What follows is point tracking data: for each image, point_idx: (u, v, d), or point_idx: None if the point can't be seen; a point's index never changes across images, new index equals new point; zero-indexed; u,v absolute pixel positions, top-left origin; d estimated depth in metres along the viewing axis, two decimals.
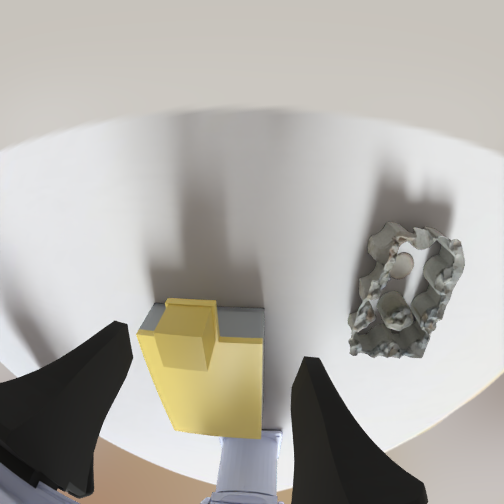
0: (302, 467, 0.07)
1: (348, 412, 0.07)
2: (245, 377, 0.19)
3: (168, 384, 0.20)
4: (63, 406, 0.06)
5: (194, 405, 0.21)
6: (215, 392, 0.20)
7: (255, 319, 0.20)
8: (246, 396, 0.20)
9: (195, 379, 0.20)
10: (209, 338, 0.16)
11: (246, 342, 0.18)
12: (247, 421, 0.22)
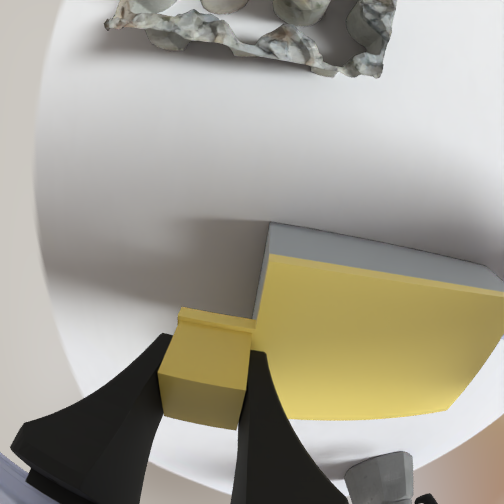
0: (238, 463, 0.07)
1: (280, 409, 0.07)
2: (358, 305, 0.10)
3: (346, 407, 0.12)
4: (127, 433, 0.06)
5: (404, 385, 0.12)
6: (383, 356, 0.11)
7: (267, 246, 0.12)
8: (412, 311, 0.10)
9: (342, 376, 0.11)
10: (207, 351, 0.09)
11: (263, 287, 0.10)
12: (474, 316, 0.10)
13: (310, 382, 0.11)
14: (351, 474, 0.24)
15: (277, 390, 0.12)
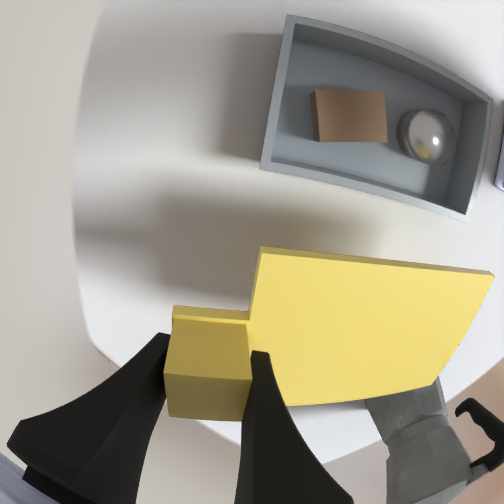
0: (242, 463, 0.07)
1: (284, 410, 0.07)
2: (345, 289, 0.10)
3: (337, 389, 0.13)
4: (122, 431, 0.06)
5: (390, 363, 0.13)
6: (370, 336, 0.12)
7: None
8: (394, 292, 0.11)
9: (332, 359, 0.12)
10: (207, 345, 0.09)
11: (256, 279, 0.10)
12: (451, 293, 0.11)
13: (303, 367, 0.12)
14: None
15: None
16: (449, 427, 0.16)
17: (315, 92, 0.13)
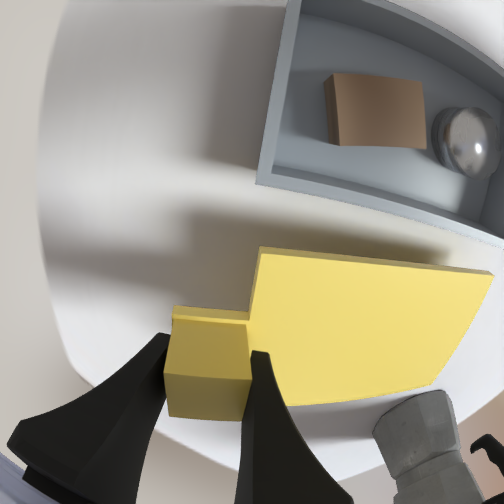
0: (242, 463, 0.07)
1: (284, 410, 0.07)
2: (345, 289, 0.10)
3: (337, 389, 0.13)
4: (122, 431, 0.06)
5: (390, 363, 0.13)
6: (369, 336, 0.12)
7: None
8: (394, 292, 0.11)
9: (332, 359, 0.12)
10: (207, 345, 0.09)
11: (255, 278, 0.10)
12: (451, 293, 0.11)
13: (302, 367, 0.12)
14: (384, 423, 0.20)
15: None
16: (463, 464, 0.12)
17: (333, 77, 0.09)
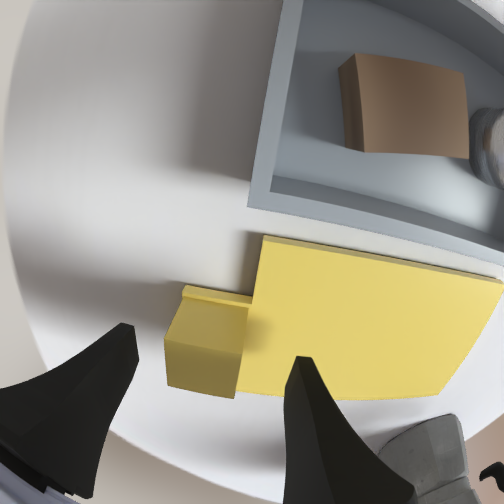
0: (293, 467, 0.07)
1: (339, 412, 0.07)
2: (344, 282, 0.11)
3: (337, 386, 0.14)
4: (71, 410, 0.06)
5: (392, 365, 0.13)
6: (370, 333, 0.12)
7: None
8: (395, 290, 0.11)
9: (332, 353, 0.13)
10: (208, 321, 0.10)
11: (258, 264, 0.11)
12: (457, 298, 0.11)
13: None
14: (390, 450, 0.17)
15: (272, 366, 0.13)
16: (470, 491, 0.09)
17: (354, 58, 0.06)
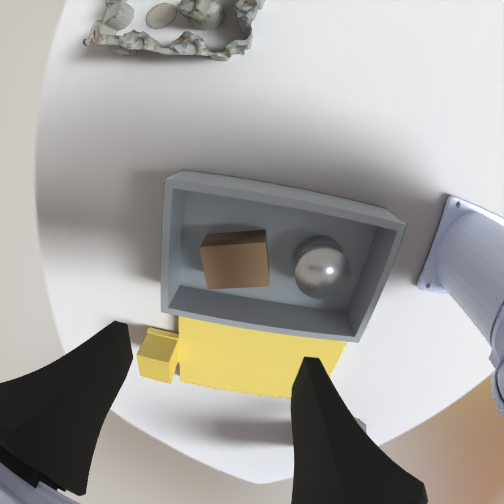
0: (302, 467, 0.07)
1: (348, 412, 0.07)
2: (221, 332, 0.22)
3: (236, 384, 0.25)
4: (63, 406, 0.06)
5: (267, 376, 0.24)
6: (244, 357, 0.23)
7: None
8: (252, 337, 0.22)
9: (225, 365, 0.24)
10: (157, 346, 0.21)
11: (179, 321, 0.22)
12: (301, 343, 0.22)
13: (210, 366, 0.24)
14: None
15: (195, 369, 0.24)
16: None
17: (200, 248, 0.17)
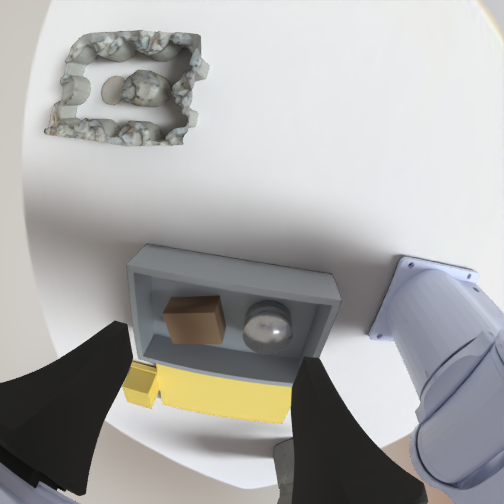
0: (302, 467, 0.07)
1: (348, 412, 0.07)
2: None
3: (209, 408, 0.27)
4: (63, 406, 0.06)
5: (234, 404, 0.26)
6: (212, 389, 0.25)
7: None
8: None
9: (198, 394, 0.26)
10: (139, 379, 0.24)
11: None
12: None
13: (185, 394, 0.26)
14: (275, 452, 0.31)
15: (174, 396, 0.27)
16: None
17: None
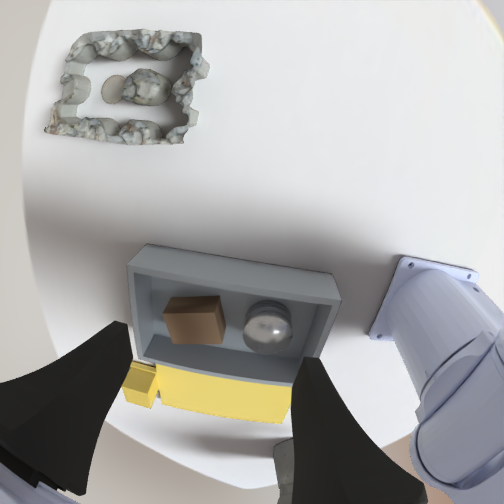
0: (302, 467, 0.07)
1: (348, 412, 0.07)
2: None
3: (208, 408, 0.27)
4: (63, 406, 0.06)
5: (234, 404, 0.26)
6: (212, 389, 0.25)
7: None
8: None
9: (197, 394, 0.26)
10: (138, 379, 0.24)
11: None
12: None
13: (185, 394, 0.26)
14: (275, 452, 0.31)
15: (173, 395, 0.27)
16: None
17: None
